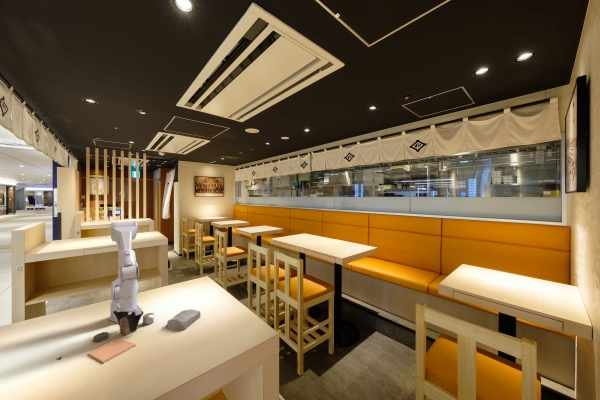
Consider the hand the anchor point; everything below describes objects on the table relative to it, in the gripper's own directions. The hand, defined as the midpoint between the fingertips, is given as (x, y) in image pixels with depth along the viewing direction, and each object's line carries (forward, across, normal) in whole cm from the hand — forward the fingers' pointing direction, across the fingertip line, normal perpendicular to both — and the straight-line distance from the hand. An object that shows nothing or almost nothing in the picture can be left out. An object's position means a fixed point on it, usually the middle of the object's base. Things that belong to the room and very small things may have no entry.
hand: (128, 328), depth 94 cm
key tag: (+2, -6, -19) cm, 20 cm away
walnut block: (+2, 0, 0) cm, 2 cm away
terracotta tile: (+2, +7, -9) cm, 12 cm away
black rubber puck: (+2, -5, -7) cm, 9 cm away
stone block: (+2, +13, +15) cm, 20 cm away
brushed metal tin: (+2, 0, +8) cm, 8 cm away
